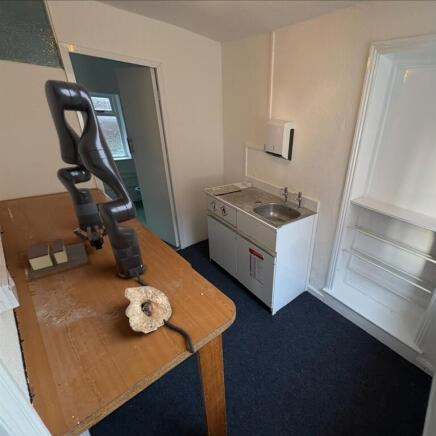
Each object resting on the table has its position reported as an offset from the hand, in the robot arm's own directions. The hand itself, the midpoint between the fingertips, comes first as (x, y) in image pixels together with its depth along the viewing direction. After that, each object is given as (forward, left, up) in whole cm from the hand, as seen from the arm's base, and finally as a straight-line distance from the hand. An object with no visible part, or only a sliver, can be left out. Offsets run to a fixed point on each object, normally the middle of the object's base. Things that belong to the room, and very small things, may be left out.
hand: (98, 245), depth 110 cm
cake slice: (+4, +13, -3) cm, 14 cm away
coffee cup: (+26, -8, -5) cm, 28 cm away
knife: (+6, 0, 0) cm, 6 cm away
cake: (+4, +19, -3) cm, 20 cm away
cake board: (+3, +14, -5) cm, 15 cm away
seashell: (-55, -7, -5) cm, 55 cm away
